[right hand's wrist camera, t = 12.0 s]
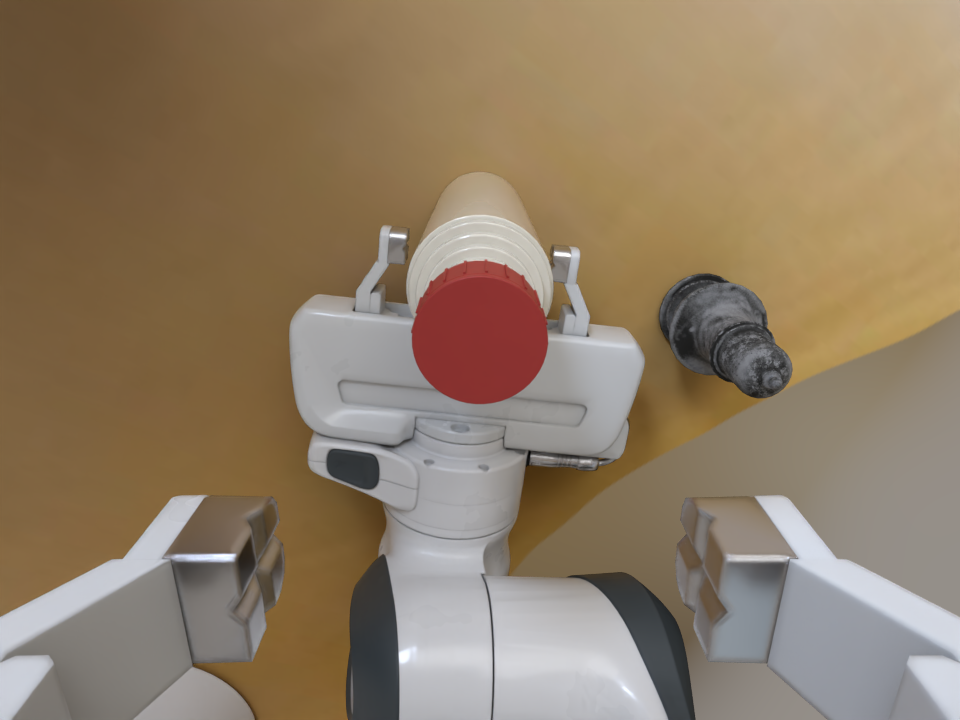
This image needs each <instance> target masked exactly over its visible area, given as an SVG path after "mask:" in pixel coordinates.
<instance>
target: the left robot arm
mask: <svg viewBox="0 0 960 720" xmlns="http://www.w3.org/2000/svg"><path fill="white" fill-rule="evenodd" d="M409 237H410V228H404V227H396V226H388V225H383V227H382V228H381V231H380V237H379V254H378V259H377V261H376V262H375V264H374V265H373V267H372V268H371V270H370V271H369V273H368V274H367V276H366V277H365V278H364V280H363V281H362V283H361V284H360V286H359V287H358V289H357V290H356V298H350V297H341V296H332V295H323V294H317V295H314V296H312V297H311V298H310V299H309V300H308V301H307V302H305V303H304V304H303V305H302V306H301V307H300V308H299V309H298V310H297V312H296V313H295V314H294V316H293V318H292V320H291V323H290V329H289V345H290V363H291V373H292V382H293V389H294V395H295V400H296V405H297V408H298V411H299V413H300V415H301V417H302V419H303V420H304V422H305V423H306V424H307V425H308V426H309V427H310V428H311V429H312V430H314V432H313V435H312V438H311V441H310V445H309V450H308V465H309V468H310V469H311V470H312V471H313V472H314V473H316V474H318V475H320V476H322V477H325V478H327V479H330V480H333V481H335V482H338V483H341V484H343V485H346V486H348V487H351V488H353V489H356V490H358V491H361V492H363V493H365V494H368V495H370V496H372V497H374V498H376V499H378V500H380V501H382V502H383V508H384V511H385V515H386V520H387V526H386V530H385V532H384V534H383V537H382V539H381V543H380V546H379V553H378V558H377V559H376V560H375V561H374V562H373V563H372V564H371V566H370V567H369V568H368V569H367V571H366V572H365V573H364V575H363V576H362V577H361V578H360V580H359V581H358V582H357V584H356V585H355V588H354V591H353V595H352V600H351V607H350V645H351V648H350V654H349V661H348V669H347V681H346V710H347V717H348V720H695V713H694V705H693V697H692V690H691V683H690V675H689V669H688V663H687V657H686V652H685V647H684V643H683V639H682V635H681V632H680V629H679V626H678V624H677V622H676V620H675V618H674V617H673V616H672V614H671V613H670V612H669V610H668V609H667V608H666V607H665V606H664V604H663V603H662V602H661V601H660V600H659V599H658V598H657V597H656V596H655V595H654V594H653V593H652V592H651V591H649V590H648V589H647V588H646V587H645V586H644V585H643V584H641V583H640V582H639V581H638V580H636V579H635V578H634V577H632V576H631V575H629V574H627V573H622V572H617V573H603V574H588V575H573V576H568V577H524V576H508V574H509V569H510V550H509V545H508V536H509V533H510V531H511V529H512V528H513V526H514V524H515V522H516V519H517V516H518V512H519V506H520V500H521V494H522V488H523V481H524V475H525V467H527V465H530V466H540V467H552V468H556V467H557V468H560V467H566V468H575V469H576V470H581V471H595V470H597V469H598V466H603V465H607V464H610V463H612V462H614V461H615V460H616V459H618V458H620V457H621V456H622V454H623V452H624V450H625V446H626V442H627V437H628V433H629V426H630V424H629V419H628V415H629V412H630V410H631V407H632V405H633V402H634V399H635V397H636V394H637V391H638V387H639V384H640V381H641V378H642V374H643V370H644V365H645V358H644V354H643V352H642V349H641V348H640V346H639V344H638V342H637V341H636V340H635V338H634V337H633V336H632V335H631V334H630V332H629V331H628V330H627V329H625V328H622V327H614V326H605V325H596V324H589V320H590V315H589V312H588V310H587V307H586V305H585V302H584V299H583V297H582V294H581V292H580V289H579V286H578V284H577V282H576V279H577V273H578V267H579V261H580V250H579V249H578V247H571V246H562V245H552V246H551V249H550V256H551V260H550V261H549V263H550V266H551V270H552V274H553V281H554V282H562V283H563V284H564V286H565V289H566V291H567V294H568V296H569V299H570V302H571V306H570V305H568V304H563V305H561V310H560V315H559V320H550V319H547V322H548V325H546V327H547V332H548V348H547V354H546V357H545V360H544V363H543V365H542V367H541V369H540V371H539V373H538V374H537V376H536V377H535V378H534V380H533V381H532V382H531V383H530V384H529V385H528V386H527V387H526V388H525V389H523V390H522V391H521V392H519V393H518V394H516V395H514V396H512V397H510V398H508V399H505V400H503V401H500V402H496V403H490V404H470V403H464V402H460V401H457V400H454V399H452V398H450V397H448V396H446V395H444V394H442V393H441V392H439V391H438V390H436V389H435V388H434V387H433V386H432V385H431V384H430V383H429V382H428V381H427V380H426V379H425V377H424V376H423V374H422V373H421V371H420V370H419V368H418V366H417V364H416V361H415V358H414V354H413V349H412V333H411V330H412V326H413V323H414V318H413V315H412V313H411V311H410V308H409V304H405V303H396V302H387V301H385V296H386V286H385V284H379V283H378V284H377V285H376V283H377V282H378V280H379V279H380V277H381V276H382V274H383V273H384V271H385V270H386V269H387V267H388V266H389V264H390V263H392V264H403V265H405V263H406V260H407V259H408V250H409V246H408V244H407V242H408V240H409ZM599 458H604V459H599ZM133 720H255V717H254V715H253V713H252V711H251V709H250V707H249V706H248V704H247V703H246V701H245V700H244V699H243V698H242V696H241V695H240V694H239V693H238V692H237V691H236V690H234V689H233V688H232V687H231V686H230V685H228V684H227V683H225V682H224V681H222V680H221V679H219V678H217V677H216V676H214V675H212V674H210V673H208V672H205V671H203V670H200V669H198V668H195V667H192V668H191V669H189V670H188V671H187V672H186V673H185V674H184V675H183V676H182V677H180V678H179V679H178V680H177V681H176V682H175V683H174V684H172V685H171V686H170V687H169V688H168V689H167V690H166V691H165V692H163V693H162V694H161V695H160V696H159V697H158V698H157V699H156V700H154V701H153V702H152V703H151V704H150V705H149V706H148V707H146V708H145V709H144V710H143V711H142V712H141V713H140V714H139V715H137V716H136V717H135V718H134V719H133Z"/></svg>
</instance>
